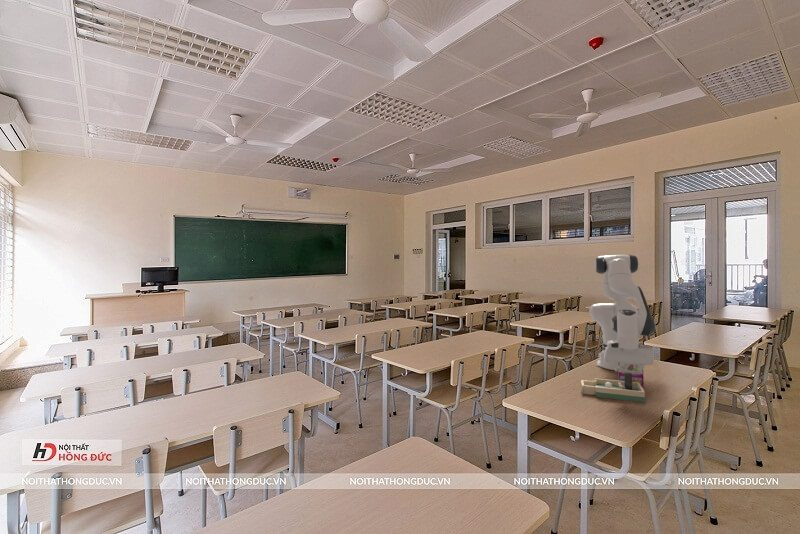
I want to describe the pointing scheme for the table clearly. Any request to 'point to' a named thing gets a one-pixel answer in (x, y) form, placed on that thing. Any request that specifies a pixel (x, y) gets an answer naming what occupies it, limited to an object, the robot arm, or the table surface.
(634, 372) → the candy bar box
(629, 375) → the rod
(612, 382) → the pitch
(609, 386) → the ball
